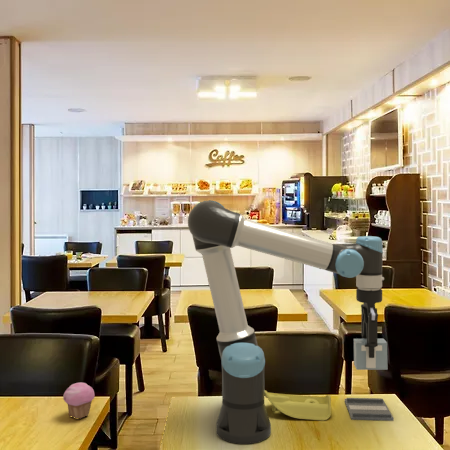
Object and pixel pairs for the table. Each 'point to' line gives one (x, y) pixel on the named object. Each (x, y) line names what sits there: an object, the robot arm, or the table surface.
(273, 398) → the plastic component
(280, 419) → the table surface
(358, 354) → the block
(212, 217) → the robot arm
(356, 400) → the rail mount
